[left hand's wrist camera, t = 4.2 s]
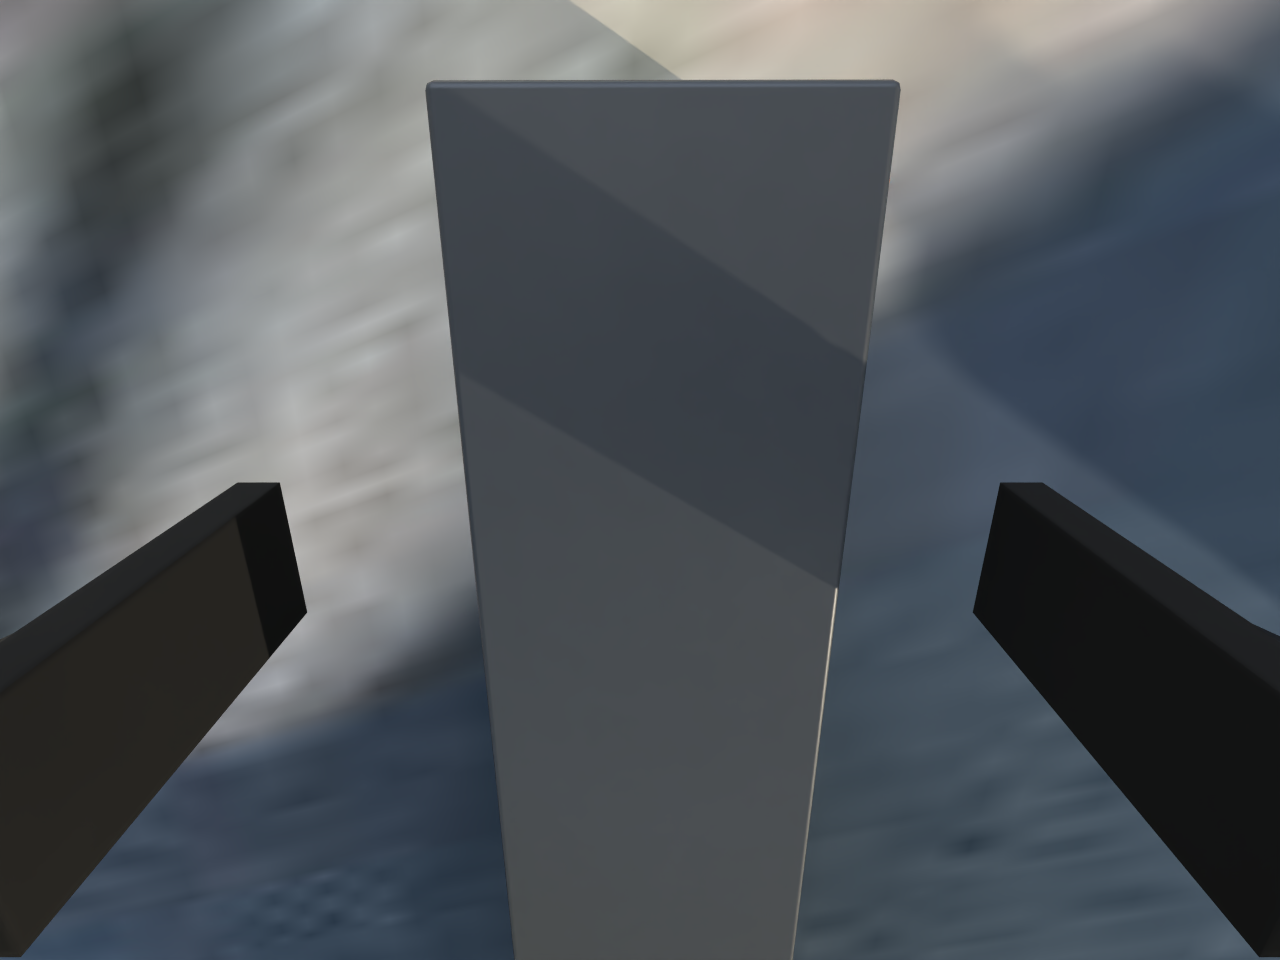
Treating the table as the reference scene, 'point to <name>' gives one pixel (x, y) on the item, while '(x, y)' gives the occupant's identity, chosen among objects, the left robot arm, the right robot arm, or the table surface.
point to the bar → (658, 481)
